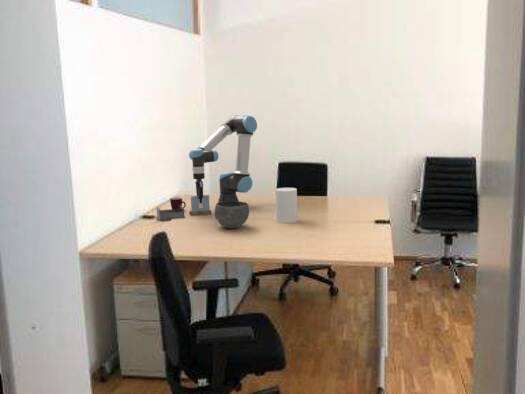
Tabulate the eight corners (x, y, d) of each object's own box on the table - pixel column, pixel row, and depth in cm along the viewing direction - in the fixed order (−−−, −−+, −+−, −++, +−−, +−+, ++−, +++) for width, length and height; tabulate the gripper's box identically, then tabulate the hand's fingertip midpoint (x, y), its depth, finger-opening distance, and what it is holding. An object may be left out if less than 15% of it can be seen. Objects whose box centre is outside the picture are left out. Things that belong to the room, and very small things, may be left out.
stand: (209, 213, 394) (209, 209, 394) (211, 215, 388) (211, 211, 387) (189, 215, 390) (188, 210, 390) (191, 217, 384) (191, 212, 383)
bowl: (242, 232, 339) (241, 207, 336) (209, 230, 346) (208, 205, 344) (254, 224, 358) (254, 200, 356) (223, 222, 366) (222, 199, 363)
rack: (180, 215, 391) (180, 204, 390) (184, 218, 379) (184, 208, 378) (157, 217, 387) (156, 206, 385) (159, 221, 374) (159, 210, 373)
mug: (183, 210, 406) (182, 196, 404) (187, 212, 399) (187, 198, 398) (169, 212, 401) (168, 198, 399) (173, 214, 394) (173, 200, 392)
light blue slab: (209, 212, 392) (208, 194, 389) (209, 212, 390) (208, 195, 388) (191, 214, 388) (190, 196, 386) (192, 214, 386) (191, 196, 384)
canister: (283, 217, 376) (282, 187, 373) (301, 219, 369) (300, 188, 365) (271, 221, 366) (270, 190, 362) (289, 223, 358) (289, 191, 354)
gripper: (190, 171, 390) (192, 206, 394) (195, 174, 376) (197, 210, 380) (201, 170, 392) (203, 205, 396) (206, 173, 378) (208, 209, 382)
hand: (200, 207), depth 388 cm, fingers closed on light blue slab, 2 cm apart
